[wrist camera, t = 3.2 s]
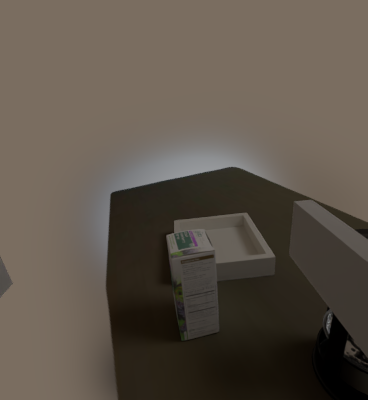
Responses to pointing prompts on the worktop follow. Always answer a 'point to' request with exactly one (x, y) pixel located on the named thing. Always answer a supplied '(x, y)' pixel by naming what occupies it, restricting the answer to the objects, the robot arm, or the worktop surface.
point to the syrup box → (194, 282)
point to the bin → (234, 245)
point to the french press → (337, 355)
